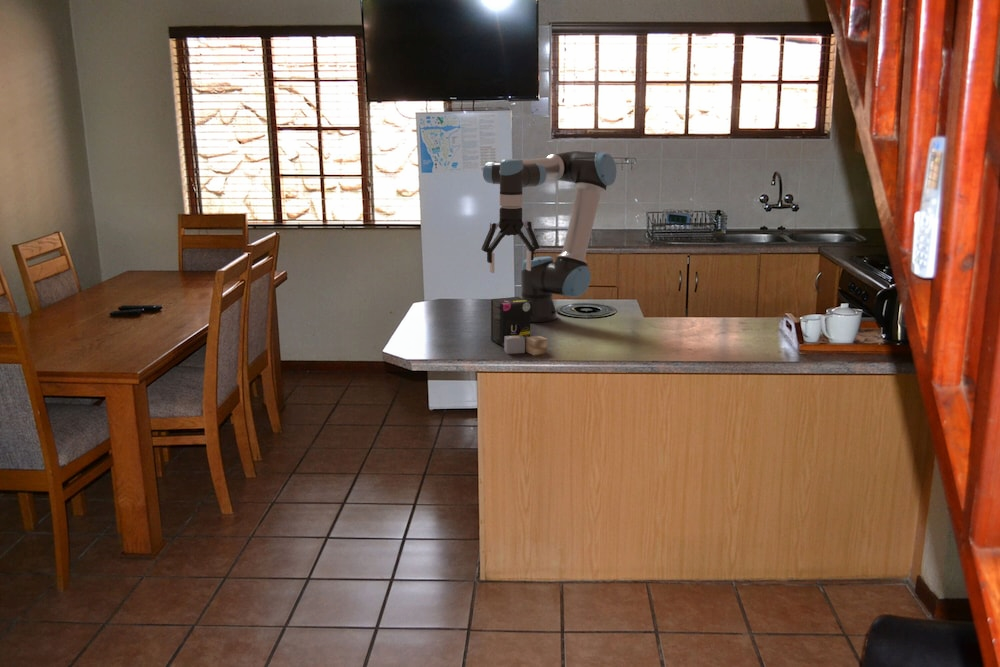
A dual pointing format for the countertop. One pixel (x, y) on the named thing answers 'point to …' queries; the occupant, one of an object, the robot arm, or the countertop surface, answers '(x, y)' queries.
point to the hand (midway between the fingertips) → (510, 271)
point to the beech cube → (536, 345)
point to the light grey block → (514, 344)
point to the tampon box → (510, 318)
